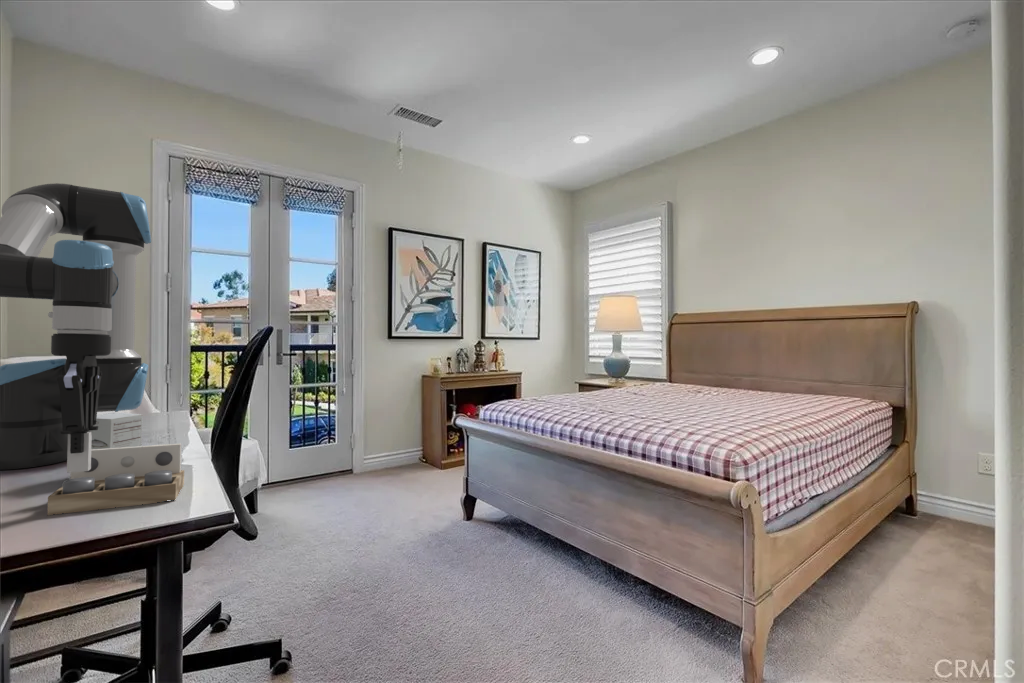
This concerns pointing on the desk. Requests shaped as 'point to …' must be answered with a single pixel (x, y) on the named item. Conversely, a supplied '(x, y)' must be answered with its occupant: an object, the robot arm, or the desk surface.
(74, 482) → the button
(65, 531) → the desk surface
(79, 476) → the card
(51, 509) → the button board
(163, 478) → the button
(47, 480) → the desk surface
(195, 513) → the desk surface
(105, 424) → the supplement box
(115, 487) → the button
